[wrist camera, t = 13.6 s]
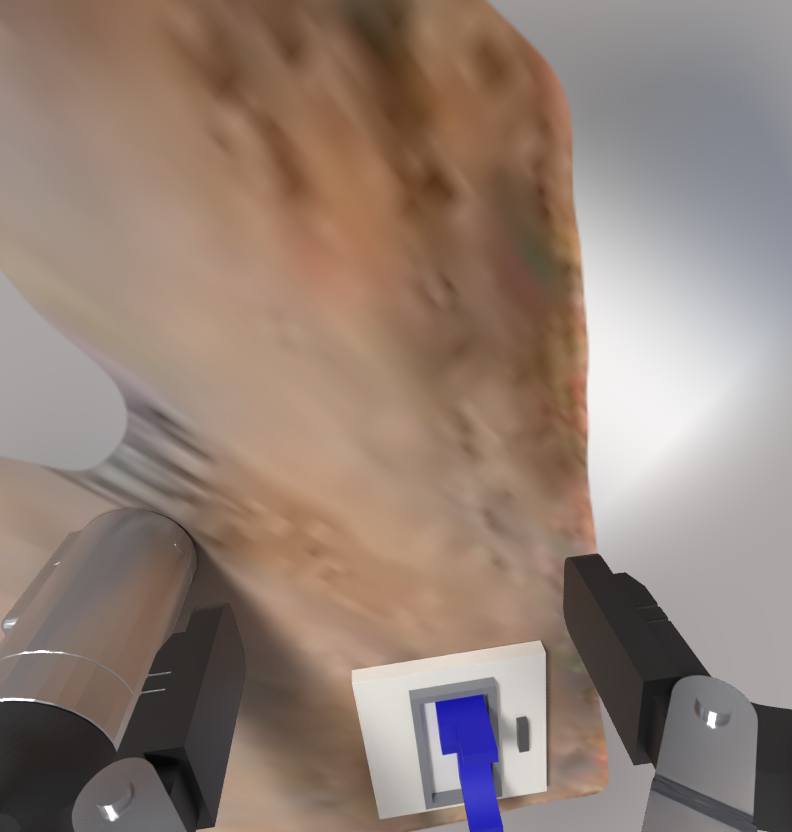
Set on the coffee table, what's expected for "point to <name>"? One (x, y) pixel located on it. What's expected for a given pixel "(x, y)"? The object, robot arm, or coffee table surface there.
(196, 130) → the coffee table surface
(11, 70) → the coffee table surface
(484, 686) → the board
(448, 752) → the cable clip
